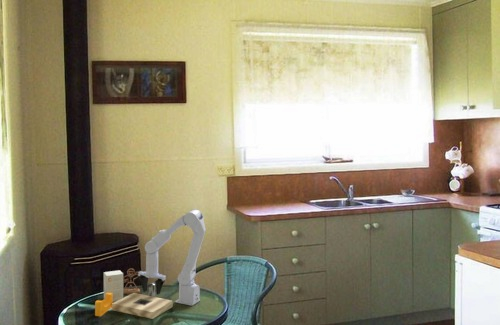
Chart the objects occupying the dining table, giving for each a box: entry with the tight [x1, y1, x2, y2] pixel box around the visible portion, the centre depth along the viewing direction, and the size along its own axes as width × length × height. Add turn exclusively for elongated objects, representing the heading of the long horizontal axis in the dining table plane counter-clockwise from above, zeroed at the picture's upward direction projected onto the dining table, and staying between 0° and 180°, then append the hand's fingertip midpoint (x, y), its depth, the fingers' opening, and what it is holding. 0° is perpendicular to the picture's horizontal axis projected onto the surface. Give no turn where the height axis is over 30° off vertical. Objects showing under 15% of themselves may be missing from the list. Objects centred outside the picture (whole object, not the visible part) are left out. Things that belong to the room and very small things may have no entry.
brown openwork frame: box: [123, 268, 141, 295], centre depth 254 cm, size 9×4×12 cm, turn 104°
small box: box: [103, 269, 124, 302], centre depth 243 cm, size 8×6×13 cm
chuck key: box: [147, 281, 156, 297], centre depth 247 cm, size 3×6×7 cm, turn 156°
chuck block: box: [111, 293, 174, 320], centre depth 233 cm, size 22×16×3 cm
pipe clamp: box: [94, 293, 114, 317], centre depth 229 cm, size 12×4×6 cm, turn 170°
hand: (151, 292), depth 247 cm, fingers open, 7 cm apart
